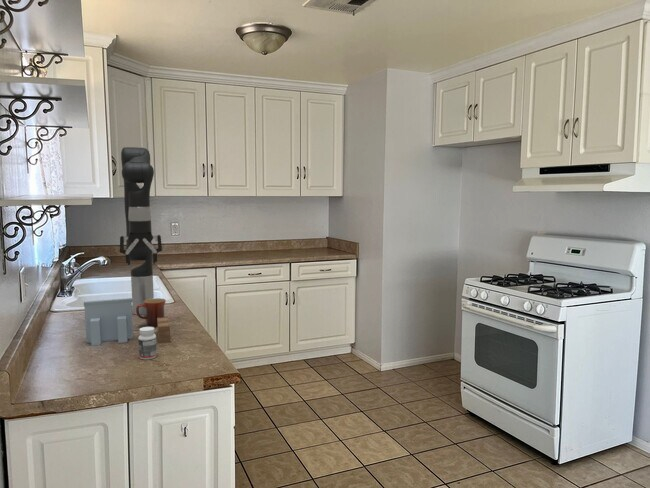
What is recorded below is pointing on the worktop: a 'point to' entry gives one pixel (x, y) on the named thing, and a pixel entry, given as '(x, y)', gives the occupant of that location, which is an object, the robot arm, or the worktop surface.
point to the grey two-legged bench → (108, 320)
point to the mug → (152, 310)
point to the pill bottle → (147, 343)
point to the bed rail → (163, 329)
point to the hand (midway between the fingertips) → (141, 264)
